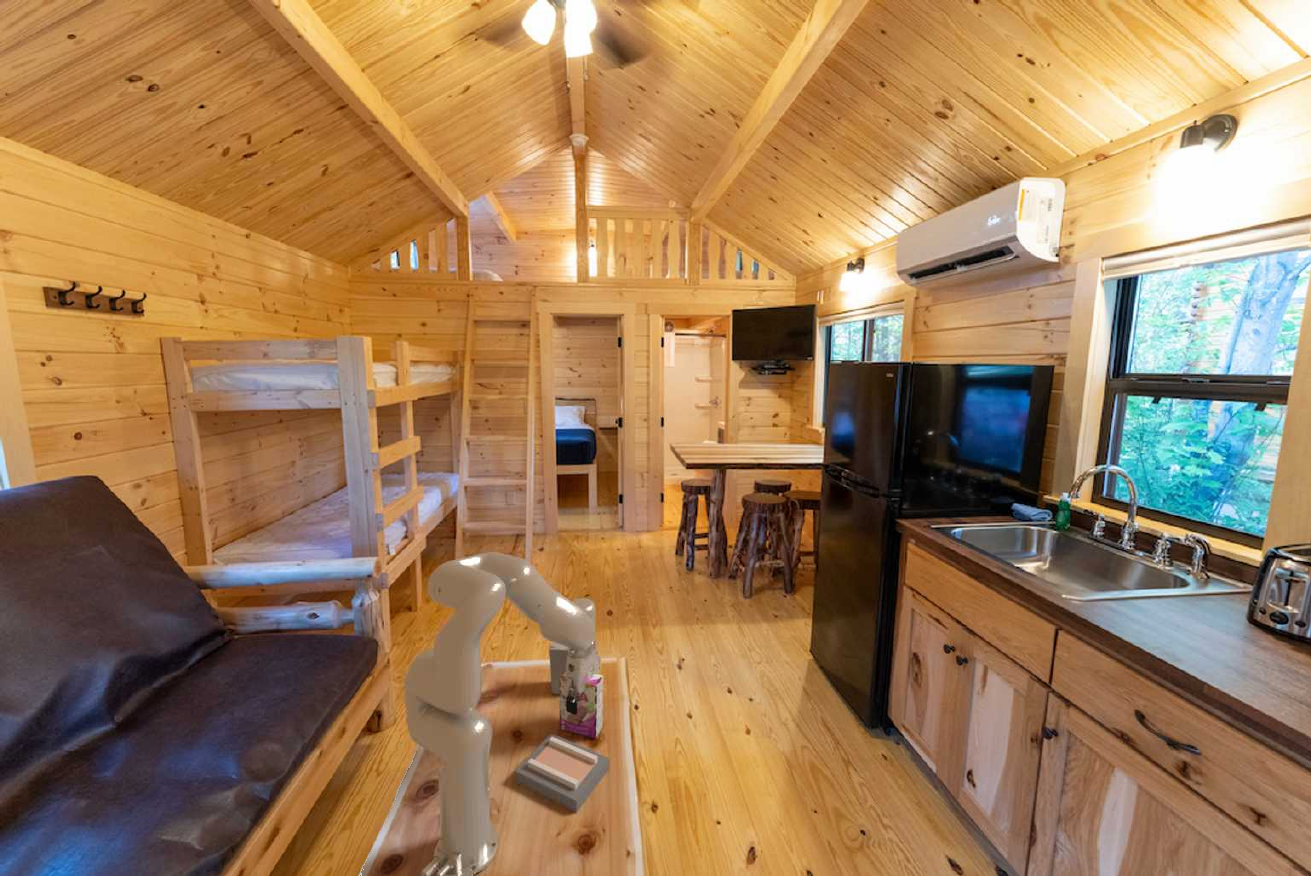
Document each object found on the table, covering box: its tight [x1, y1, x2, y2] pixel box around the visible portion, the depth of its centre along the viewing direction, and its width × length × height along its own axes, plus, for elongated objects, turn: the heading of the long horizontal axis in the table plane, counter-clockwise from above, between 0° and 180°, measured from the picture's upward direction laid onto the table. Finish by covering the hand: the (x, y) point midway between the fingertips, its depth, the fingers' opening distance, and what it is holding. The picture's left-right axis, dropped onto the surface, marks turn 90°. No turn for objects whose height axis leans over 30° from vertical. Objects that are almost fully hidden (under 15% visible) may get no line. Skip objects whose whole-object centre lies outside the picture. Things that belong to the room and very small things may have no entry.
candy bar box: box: [559, 670, 604, 740], centre depth 139 cm, size 11×5×16 cm, turn 74°
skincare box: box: [548, 642, 568, 695], centre depth 156 cm, size 8×7×16 cm
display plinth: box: [514, 732, 610, 813], centre depth 124 cm, size 14×18×4 cm
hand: (582, 701), depth 139 cm, fingers open, 9 cm apart
